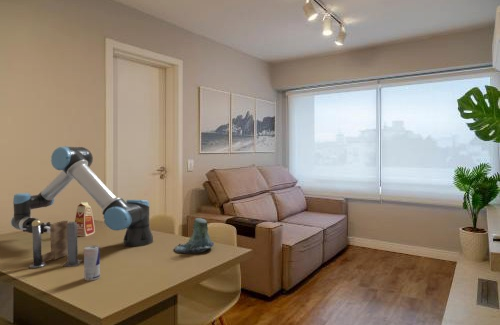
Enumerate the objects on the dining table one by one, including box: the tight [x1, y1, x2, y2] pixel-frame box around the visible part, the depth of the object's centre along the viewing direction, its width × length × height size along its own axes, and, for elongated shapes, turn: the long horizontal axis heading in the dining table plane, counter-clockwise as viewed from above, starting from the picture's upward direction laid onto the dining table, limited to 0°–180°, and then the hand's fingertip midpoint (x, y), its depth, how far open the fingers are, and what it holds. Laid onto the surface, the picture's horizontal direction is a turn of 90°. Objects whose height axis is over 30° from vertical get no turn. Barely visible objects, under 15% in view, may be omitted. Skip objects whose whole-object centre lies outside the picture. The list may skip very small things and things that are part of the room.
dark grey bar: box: [62, 221, 84, 268], centre depth 144 cm, size 6×6×18 cm
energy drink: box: [83, 245, 101, 282], centre depth 127 cm, size 5×5×12 cm
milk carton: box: [74, 201, 96, 237], centre depth 198 cm, size 9×9×20 cm
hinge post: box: [28, 219, 47, 269], centre depth 141 cm, size 6×6×20 cm
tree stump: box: [173, 217, 215, 254], centre depth 165 cm, size 18×20×18 cm
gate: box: [42, 220, 69, 263], centre depth 150 cm, size 14×2×16 cm, turn 166°
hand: (51, 230), depth 160 cm, fingers closed
